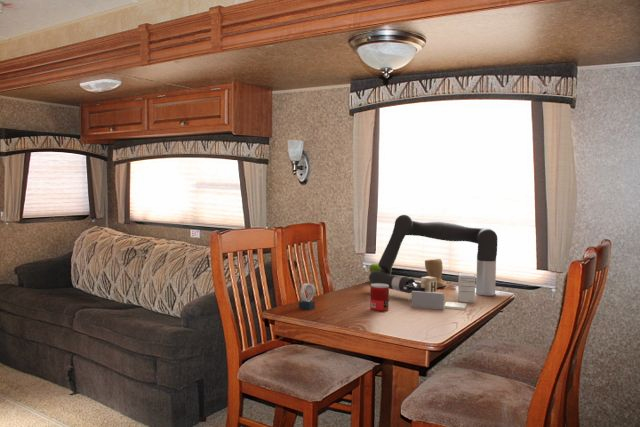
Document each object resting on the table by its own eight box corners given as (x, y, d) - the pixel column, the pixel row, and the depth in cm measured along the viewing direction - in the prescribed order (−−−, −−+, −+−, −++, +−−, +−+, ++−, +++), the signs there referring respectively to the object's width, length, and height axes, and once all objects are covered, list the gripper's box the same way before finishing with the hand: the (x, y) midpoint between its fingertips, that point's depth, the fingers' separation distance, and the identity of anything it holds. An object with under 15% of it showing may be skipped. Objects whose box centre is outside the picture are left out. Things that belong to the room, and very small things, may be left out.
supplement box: (457, 298, 253) (458, 272, 252) (473, 299, 251) (474, 273, 251) (458, 301, 246) (459, 275, 245) (474, 302, 244) (475, 275, 243)
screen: (411, 306, 235) (412, 290, 235) (443, 308, 230) (444, 293, 230) (411, 306, 233) (411, 291, 233) (443, 309, 229) (443, 293, 228)
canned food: (387, 312, 222) (388, 286, 222) (369, 311, 224) (369, 285, 223) (389, 308, 230) (389, 283, 229) (371, 307, 232) (371, 282, 231)
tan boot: (426, 282, 295) (426, 256, 294) (447, 284, 291) (448, 257, 290) (421, 287, 281) (422, 259, 280) (444, 289, 277) (444, 261, 276)
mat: (446, 304, 240) (446, 301, 240) (466, 305, 237) (466, 303, 237) (444, 308, 232) (444, 305, 232) (465, 309, 229) (465, 307, 229)
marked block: (420, 303, 242) (421, 277, 241) (427, 301, 245) (428, 276, 244) (429, 305, 238) (430, 278, 237) (436, 303, 241) (437, 277, 240)
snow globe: (316, 307, 230) (317, 282, 229) (307, 311, 223) (307, 285, 222) (306, 306, 233) (306, 281, 232) (296, 309, 226) (296, 284, 225)
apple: (385, 285, 284) (385, 265, 284) (365, 283, 291) (365, 263, 291) (395, 282, 295) (395, 262, 294) (375, 280, 302) (376, 260, 301)
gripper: (393, 278, 248) (420, 282, 236) (413, 275, 257) (440, 279, 245) (393, 293, 249) (420, 299, 236) (412, 290, 258) (439, 295, 245)
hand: (430, 289), depth 241 cm, fingers open, 8 cm apart
